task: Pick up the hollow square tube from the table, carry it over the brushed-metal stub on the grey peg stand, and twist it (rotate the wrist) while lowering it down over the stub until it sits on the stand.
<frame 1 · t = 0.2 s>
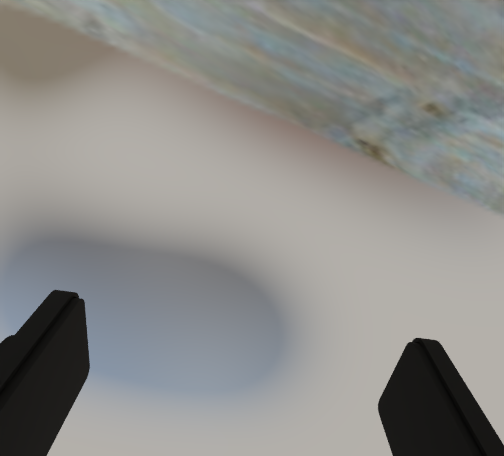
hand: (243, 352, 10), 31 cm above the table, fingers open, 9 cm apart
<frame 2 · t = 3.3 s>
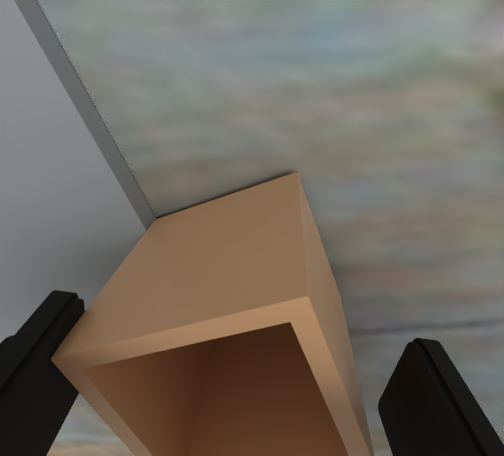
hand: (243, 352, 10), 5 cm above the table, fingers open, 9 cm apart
hollow square tube: (251, 259, 14), on the table, touching gripper
grey peg stand: (1, 239, 15), on the table
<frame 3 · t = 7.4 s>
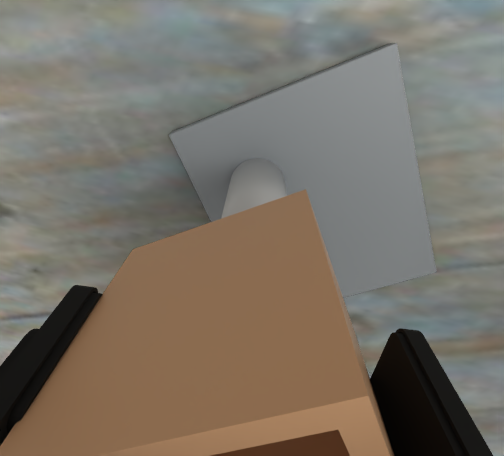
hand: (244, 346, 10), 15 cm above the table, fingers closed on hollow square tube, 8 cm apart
hollow square tube: (249, 292, 12), point 13 cm above the table, touching gripper
grey peg stand: (312, 202, 25), on the table
when the fingers open (4 cm above the table, at t = 10.6 s): hollow square tube stays where it is, resting on grey peg stand.
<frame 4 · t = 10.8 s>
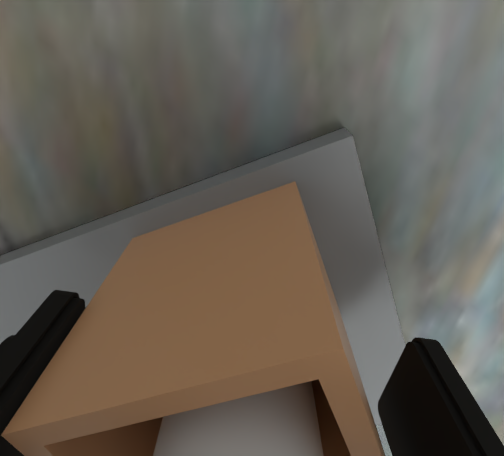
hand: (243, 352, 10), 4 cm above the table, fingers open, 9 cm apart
hollow square tube: (242, 279, 13), point 1 cm above the table, touching grey peg stand
grey peg stand: (210, 336, 16), on the table
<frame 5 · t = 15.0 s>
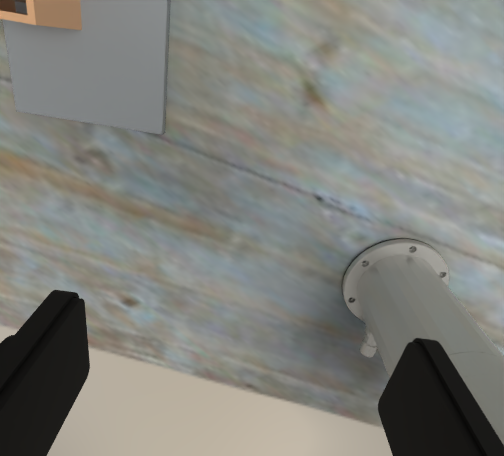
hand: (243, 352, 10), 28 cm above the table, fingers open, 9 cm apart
grey peg stand: (90, 30, 31), on the table
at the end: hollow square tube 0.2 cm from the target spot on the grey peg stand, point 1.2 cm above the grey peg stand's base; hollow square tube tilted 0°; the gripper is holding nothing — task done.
